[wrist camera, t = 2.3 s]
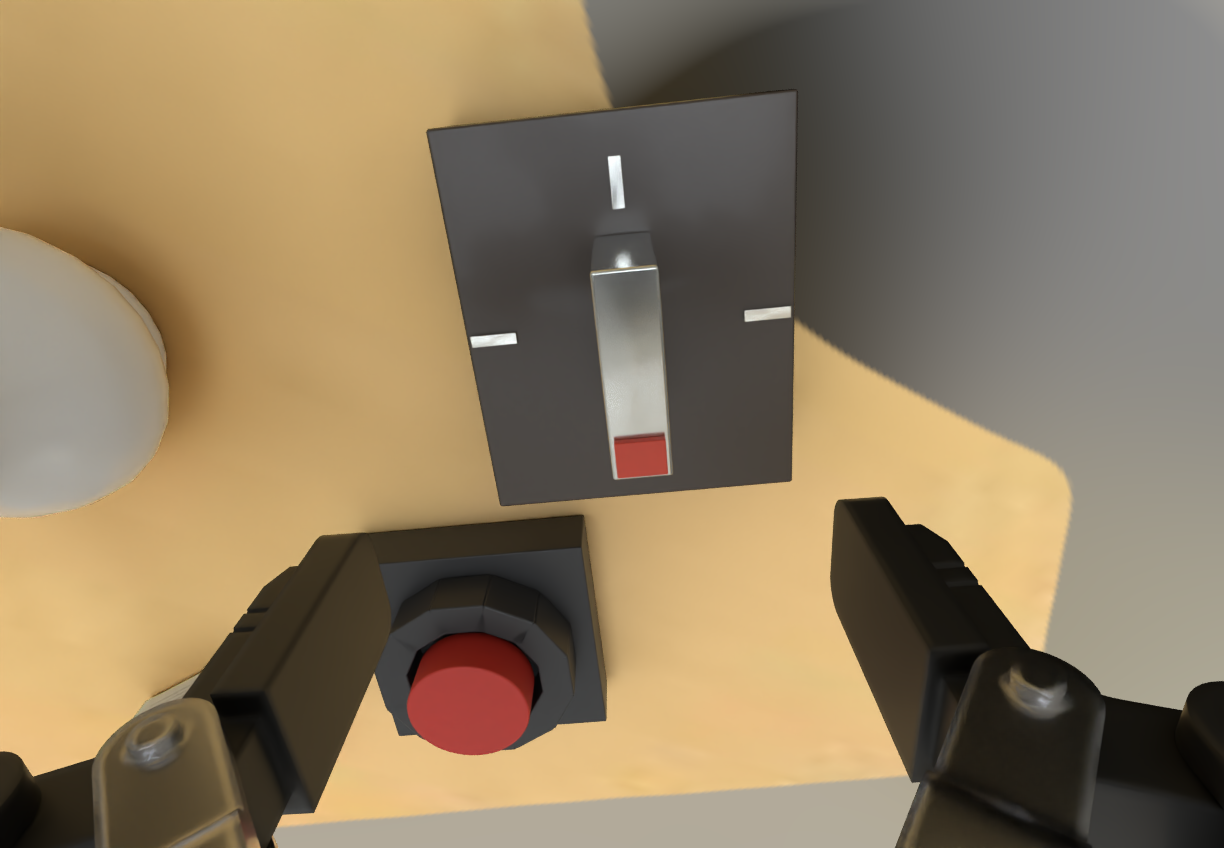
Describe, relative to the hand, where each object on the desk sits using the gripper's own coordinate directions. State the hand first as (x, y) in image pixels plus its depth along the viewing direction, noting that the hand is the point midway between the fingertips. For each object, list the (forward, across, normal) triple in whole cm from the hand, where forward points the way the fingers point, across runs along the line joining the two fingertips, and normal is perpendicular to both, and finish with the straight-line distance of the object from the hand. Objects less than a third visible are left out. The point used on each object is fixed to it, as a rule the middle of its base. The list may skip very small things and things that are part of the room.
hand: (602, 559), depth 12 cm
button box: (+13, +6, +12) cm, 19 cm away
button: (+10, +6, +12) cm, 17 cm away
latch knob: (+10, -1, -1) cm, 10 cm away
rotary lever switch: (+13, -1, -1) cm, 13 cm away
